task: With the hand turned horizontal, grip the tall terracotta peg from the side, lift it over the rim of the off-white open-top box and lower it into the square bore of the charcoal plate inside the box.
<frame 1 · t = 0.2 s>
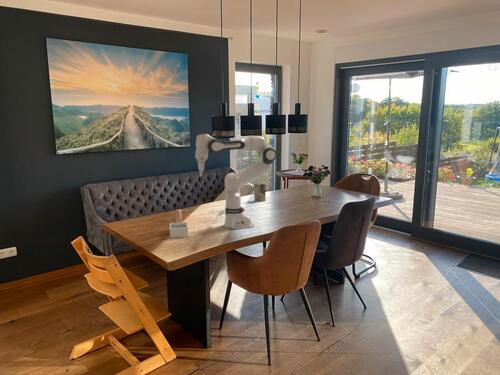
hand: (200, 175, 275), 39 cm above the table, tool pointing down, fingers open, 8 cm apart
peg: (179, 228, 279), on the table
open box: (179, 234, 266), on the table
coffee box: (259, 201, 365), on the table
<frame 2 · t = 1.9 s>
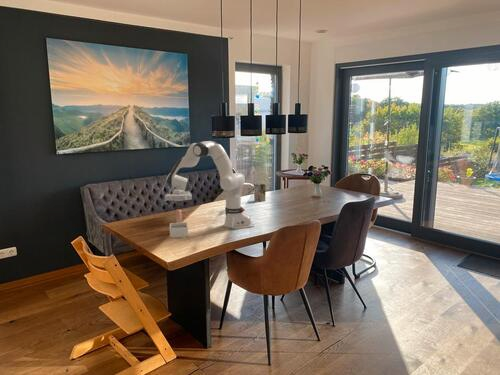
hand: (178, 199, 287), 19 cm above the table, tool horizontal, fingers open, 8 cm apart
nothing on the table moved.
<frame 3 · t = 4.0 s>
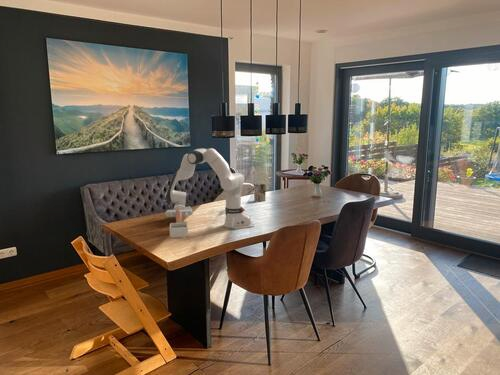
hand: (179, 215, 284), 8 cm above the table, tool horizontal, fingers open, 8 cm apart
nothing on the table moved.
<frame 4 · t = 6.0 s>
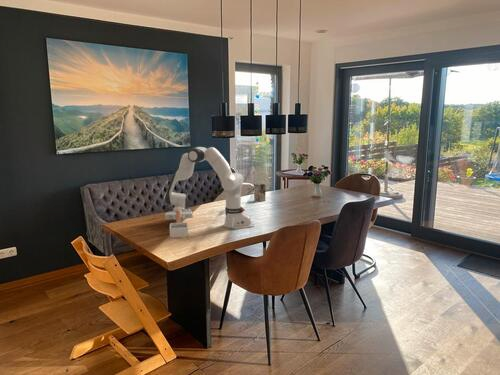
hand: (178, 218, 277), 8 cm above the table, tool horizontal, fingers closed on peg, 4 cm apart
peg: (179, 228, 279), on the table, touching gripper
everything else where it was.
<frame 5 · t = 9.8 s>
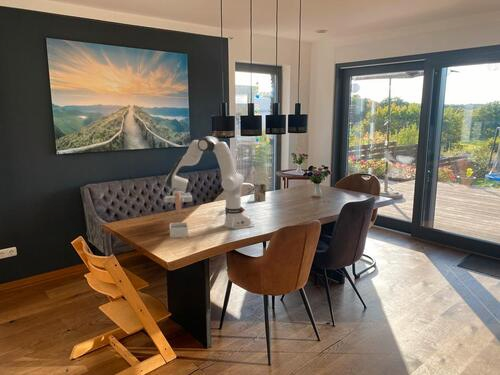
hand: (178, 201, 274), 21 cm above the table, tool horizontal, fingers closed on peg, 4 cm apart
peg: (178, 212, 277), point 12 cm above the table, touching gripper
everything else where it was.
when the fingers open (12 cm above the table, at t = 13.6 s): peg drops 3 cm, resting on open box.
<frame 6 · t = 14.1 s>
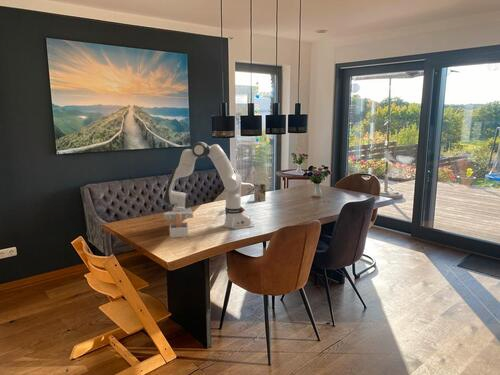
hand: (178, 218, 263), 12 cm above the table, tool horizontal, fingers open, 8 cm apart
peg: (179, 233, 266), point 1 cm above the table, touching open box
everything else where it was.
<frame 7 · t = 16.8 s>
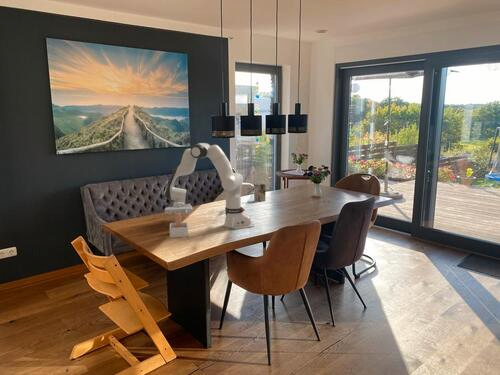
hand: (178, 212, 276), 12 cm above the table, tool horizontal, fingers open, 8 cm apart
nothing on the table moved.
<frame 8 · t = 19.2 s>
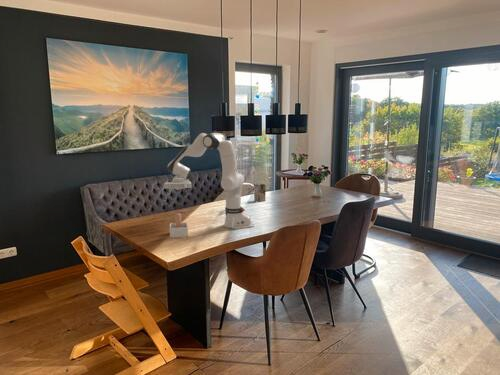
hand: (177, 187, 278), 30 cm above the table, tool horizontal, fingers open, 8 cm apart
nothing on the table moved.
at the end: peg 0.0 cm off-centre on the open box, point 0.8 cm above the open box's base; peg tilted 1°; the gripper is holding nothing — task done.
